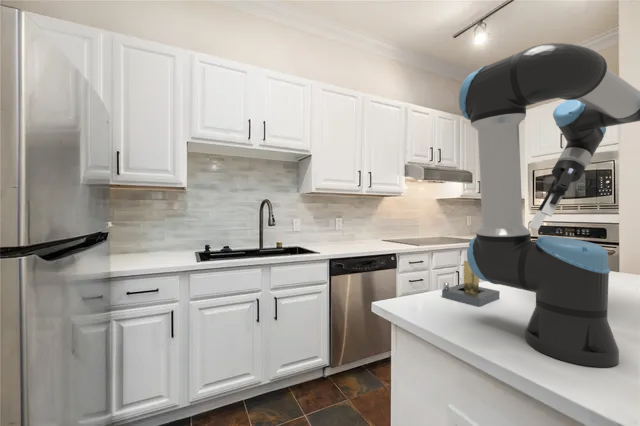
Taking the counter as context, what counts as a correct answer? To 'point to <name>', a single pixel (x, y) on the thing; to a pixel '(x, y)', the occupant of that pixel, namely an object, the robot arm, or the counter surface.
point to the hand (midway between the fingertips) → (539, 222)
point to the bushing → (470, 280)
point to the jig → (470, 295)
